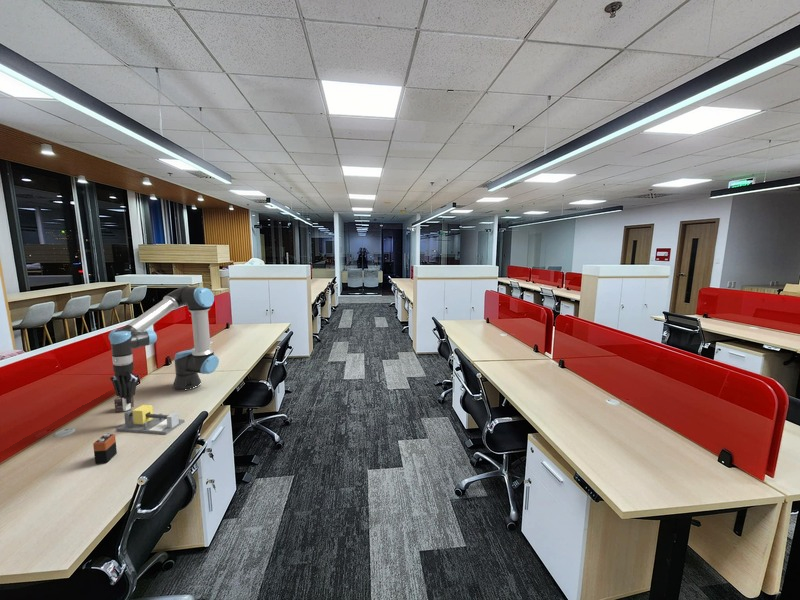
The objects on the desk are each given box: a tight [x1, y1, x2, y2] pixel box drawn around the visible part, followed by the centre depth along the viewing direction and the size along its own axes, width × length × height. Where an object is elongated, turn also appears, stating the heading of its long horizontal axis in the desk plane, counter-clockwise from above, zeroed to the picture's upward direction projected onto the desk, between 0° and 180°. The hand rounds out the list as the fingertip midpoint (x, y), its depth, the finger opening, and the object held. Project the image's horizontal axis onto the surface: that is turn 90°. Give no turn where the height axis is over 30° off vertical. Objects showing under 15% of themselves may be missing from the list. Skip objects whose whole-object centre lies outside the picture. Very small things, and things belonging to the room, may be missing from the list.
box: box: [114, 395, 135, 413], centre depth 177 cm, size 6×6×7 cm
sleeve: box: [132, 404, 154, 424], centre depth 161 cm, size 6×5×7 cm
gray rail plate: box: [116, 409, 185, 436], centre depth 161 cm, size 12×25×7 cm, turn 85°
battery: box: [92, 432, 118, 465], centre depth 135 cm, size 4×7×10 cm, turn 13°
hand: (127, 409), depth 161 cm, fingers closed
